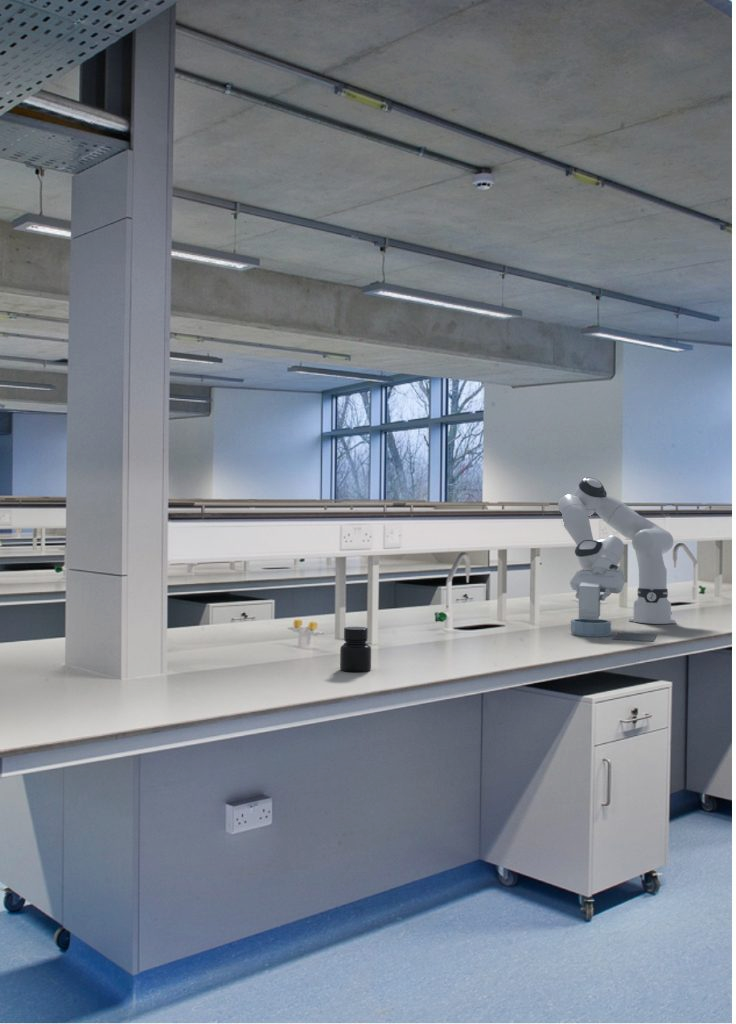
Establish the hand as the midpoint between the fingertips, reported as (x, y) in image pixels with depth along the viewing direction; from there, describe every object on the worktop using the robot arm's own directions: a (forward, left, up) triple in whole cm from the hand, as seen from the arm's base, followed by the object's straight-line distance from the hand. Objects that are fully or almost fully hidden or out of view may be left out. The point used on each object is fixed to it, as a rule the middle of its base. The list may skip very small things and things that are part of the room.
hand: (589, 598), depth 349 cm
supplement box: (0, 0, -7) cm, 7 cm away
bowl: (0, +1, -13) cm, 13 cm away
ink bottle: (+107, -52, -14) cm, 119 cm away
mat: (+1, +17, -13) cm, 21 cm away
